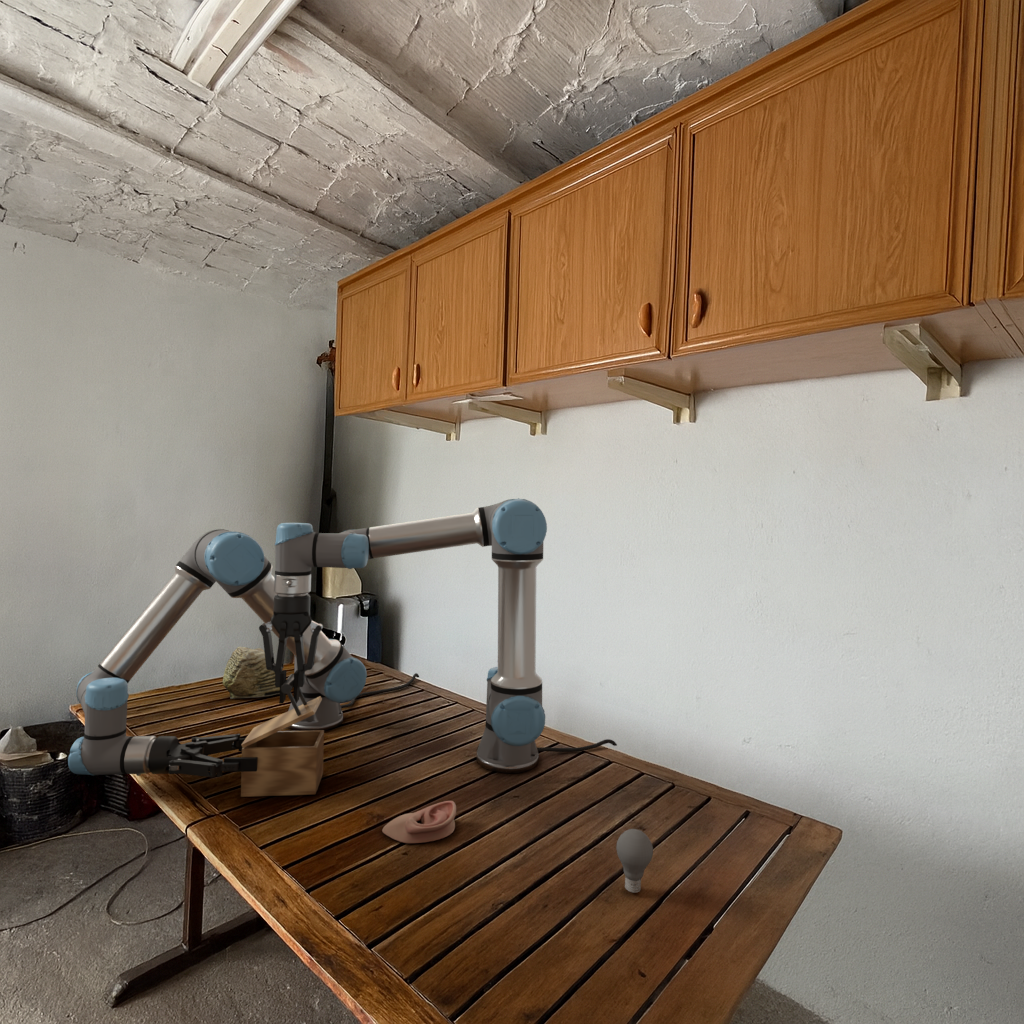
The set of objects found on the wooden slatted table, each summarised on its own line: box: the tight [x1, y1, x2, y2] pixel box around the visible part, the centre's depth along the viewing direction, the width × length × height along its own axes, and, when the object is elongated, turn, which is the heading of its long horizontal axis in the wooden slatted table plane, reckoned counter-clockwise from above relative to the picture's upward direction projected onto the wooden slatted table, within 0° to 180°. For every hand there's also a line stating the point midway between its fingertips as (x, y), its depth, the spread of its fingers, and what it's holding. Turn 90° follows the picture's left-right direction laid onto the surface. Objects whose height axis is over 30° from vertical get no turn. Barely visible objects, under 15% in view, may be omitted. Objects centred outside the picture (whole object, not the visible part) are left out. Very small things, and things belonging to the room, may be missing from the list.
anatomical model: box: [381, 800, 457, 844], centre depth 122 cm, size 13×4×12 cm
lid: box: [241, 673, 322, 748], centre depth 138 cm, size 16×10×8 cm, turn 97°
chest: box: [240, 730, 325, 798], centre depth 138 cm, size 15×10×10 cm, turn 98°
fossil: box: [222, 646, 280, 699], centre depth 198 cm, size 9×18×15 cm, turn 132°
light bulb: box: [615, 828, 654, 894], centre depth 106 cm, size 6×6×10 cm
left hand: (263, 753), depth 137 cm, fingers closed on chest, 10 cm apart
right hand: (289, 701), depth 138 cm, fingers closed on lid, 2 cm apart
